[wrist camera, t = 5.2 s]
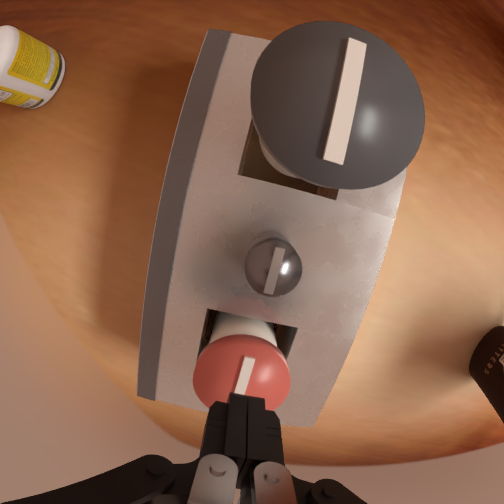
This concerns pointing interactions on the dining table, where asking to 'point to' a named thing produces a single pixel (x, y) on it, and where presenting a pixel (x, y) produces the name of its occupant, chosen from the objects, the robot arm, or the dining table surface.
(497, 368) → the coffee mug
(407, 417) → the dining table surface
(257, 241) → the small metal knob
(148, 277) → the panel
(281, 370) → the knob
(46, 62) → the supplement bottle
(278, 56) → the knob
